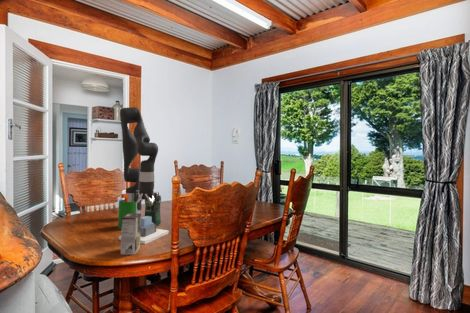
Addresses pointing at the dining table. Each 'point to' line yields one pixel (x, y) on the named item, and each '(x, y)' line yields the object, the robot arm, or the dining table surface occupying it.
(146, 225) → the block
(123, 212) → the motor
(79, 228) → the dining table surface
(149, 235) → the board
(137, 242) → the coffee box
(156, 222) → the coffee jar
